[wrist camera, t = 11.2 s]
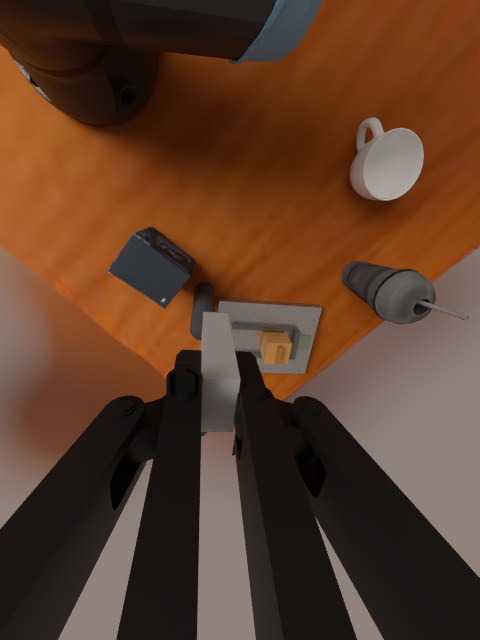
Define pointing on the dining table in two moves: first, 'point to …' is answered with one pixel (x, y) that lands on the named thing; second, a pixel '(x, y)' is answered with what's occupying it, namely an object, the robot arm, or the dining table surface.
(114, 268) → the box
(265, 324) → the breaker panel
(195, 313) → the cord post
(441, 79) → the dining table surface
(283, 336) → the block
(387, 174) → the cup
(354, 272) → the beverage cup
